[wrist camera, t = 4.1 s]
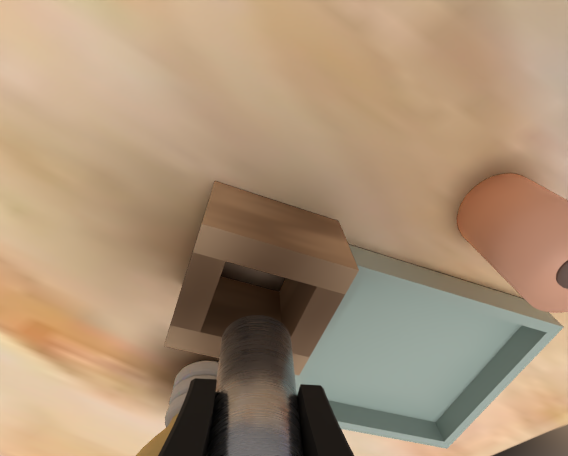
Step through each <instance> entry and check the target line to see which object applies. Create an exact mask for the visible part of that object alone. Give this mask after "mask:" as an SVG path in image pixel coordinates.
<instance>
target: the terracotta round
mask: <svg viewBox="0 0 568 456" xmlns="http://www.w3.org/2000/svg"><path fill="white" fill-rule="evenodd" d="M457 225H458V229H459V231H460V233H461V234H462V236H463V237H464V238H465V239H466V240H467V241H468V242H469V243H470V244H471V245H472V246H473V247H474V248H475V249H476V250H477V251H478V252H479V253H480V254H481V255H482V256H483V257H484V258H485V259H486V260H487V261H488V262H489V263H490V264H491V265H492V266H493V268H494V269H495V270H496V271H497V272H498V273H499V274H500V275H501V276H502V277H503V278H504V279H505V280H506V281H507V282H508V283H509V284H510V285H511V286H512V287H513V288H514V289H515V290H516V291H517V292H518V293H519V294H520V295H521V296H522V297H523V298H524V299H525V300H526V301H527V302H528V303H529V304H530V305H531V306H533V307H534V308H536V309H538V310H541V311H545V312H552V313H558V312H567V311H568V200H566V199H564V198H562V197H560V196H559V195H557V194H555V193H553V192H551V191H550V190H548V189H546V188H544V187H542V186H540V185H539V184H537V183H535V182H533V181H531V180H530V179H528V178H526V177H524V176H522V175H518V174H513V173H506V174H499V175H495V176H492V177H490V178H488V179H486V180H484V181H482V182H481V183H479V184H478V185H476V186H475V187H474V188H473V189H472V190H471V191H470V192H469V193H468V194H467V195H466V197H465V198H464V200H463V201H462V203H461V205H460V208H459V211H458V215H457Z"/></svg>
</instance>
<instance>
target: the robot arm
mask: <svg viewBox="0 0 568 456" xmlns="http://www.w3.org/2000/svg"><path fill="white" fill-rule="evenodd" d="M216 383H217V379H200V378H195V379H193V380H191V382H190V385H189V389H188V392H187V394H186V397H185V400H184V402H183V405H182V407H181V409H180V412H179V414H178V416H177V418H176V421H175V423H174V425H173V427H172V429H171V431H170V433H169V435H168V437H167V439H166V441H165V443H164V445H163V447H162V449H161V451H160V453H159V455H158V456H207V450H208V442H209V436H210V431H211V425H212V417H213V409H214V401H215V393H216ZM297 401H298V410H299V420H300V429H301V438H302V448H303V456H354V454H353V452H352V451H351V449H350V447H349V445H348V443H347V441H346V438H345V436H344V434H343V432H342V430H341V428H340V426H339V424H338V421H337V419H336V417H335V415H334V413H333V410H332V408H331V406H330V403H329V401H328V398H327V396H326V393H325V391H324V388H323V387H322V386H321V385H306V384H300V387H299V391H298V395H297Z"/></svg>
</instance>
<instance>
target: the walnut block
mask: <svg viewBox="0 0 568 456" xmlns="http://www.w3.org/2000/svg"><path fill="white" fill-rule="evenodd" d="M225 262H230V263H233V264H237V265H241V266H244V267H248V268H252V269H255V270H259V271H262V272H266V273H270V274H273V275H277V276H280V277H284V278H285V281H284V283H283V285H282V287H281V289H280V291H279V292H278V291H274V290H270V289H267V288H263V287H259V286H255V285H252V284H248V283H244V282H240V281H237V280H233V279H229V278H225V277H222V276H221V273H222V270H223V268H224V265H225ZM358 271H359V269H358V267H357V264H356V262H355V259H354V257H353V255H352V252H351V250H350V247H349V245H348V242H347V240H346V238H345V235H344V233H343V230H342V228H341V225H340V223H339V221H336V220H333V219H330V218H327V217H324V216H321V215H318V214H315V213H312V212H309V211H306V210H303V209H300V208H296V207H293V206H290V205H287V204H284V203H281V202H278V201H275V200H272V199H269V198H266V197H263V196H259V195H256V194H253V193H250V192H247V191H244V190H241V189H238V188H235V187H232V186H229V185H226V184H222V183H219V182H216V181H215V182H214V185H213V188H212V191H211V195H210V198H209V201H208V204H207V208H206V211H205V214H204V217H203V221H202V224H201V227H200V230H199V234H198V237H197V240H196V243H195V246H194V250H193V253H192V256H191V259H190V263H189V266H188V269H187V272H186V276H185V279H184V282H183V285H182V288H181V292H180V295H179V298H178V301H177V305H176V308H175V311H174V315H173V318H172V321H171V324H170V328H169V331H168V334H167V337H166V341H165V344H164V346H165V347H169V348H174V349H178V350H183V351H188V352H192V353H197V354H201V355H206V356H211V357H215V358H219V356H220V348H221V340H222V335H223V333H224V331H225V330H226V328H227V327H228V326H229V325H230V324H231V323H233V322H234V321H236V320H238V319H240V318H243V317H246V316H252V315H262V316H268V317H271V318H274V319H276V320H278V321H280V322H281V323H282V324H283V325H284V326H285V327H286V328H287V329H288V331H289V333H290V336H291V344H292V354H293V363H294V373H295V375H298V376H299V375H300V373H301V371H302V370H303V368H304V366H305V364H306V363H307V361H308V359H309V357H310V356H311V354H312V352H313V350H314V349H315V347H316V345H317V343H318V342H319V340H320V338H321V336H322V335H323V333H324V331H325V329H326V328H327V326H328V324H329V322H330V321H331V319H332V317H333V315H334V313H335V312H336V310H337V308H338V306H339V305H340V303H341V301H342V299H343V298H344V296H345V294H346V292H347V291H348V289H349V287H350V285H351V284H352V282H353V280H354V278H355V277H356V275H357V273H358Z"/></svg>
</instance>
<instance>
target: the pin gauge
mask: <svg viewBox="0 0 568 456" xmlns="http://www.w3.org/2000/svg"><path fill="white" fill-rule="evenodd" d="M207 456H303V448H302V438H301V429H300V420H299V410H298V401H297V391H296V382H295V373H294V363H293V354H292V344H291V336H290V333H289V331H288V329H287V328H286V327H285V326H284V325H283V324H282V323H281V322H280V321H278V320H276V319H274V318H271V317H268V316H262V315H252V316H246V317H243V318H240V319H238V320H236V321H234V322H233V323H231V324H230V325H229V326H228V327H227V328H226V330H225V331H224V333H223V335H222V340H221V348H220V356H219V364H218V371H217V383H216V393H215V401H214V409H213V417H212V425H211V431H210V436H209V442H208V450H207Z"/></svg>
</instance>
